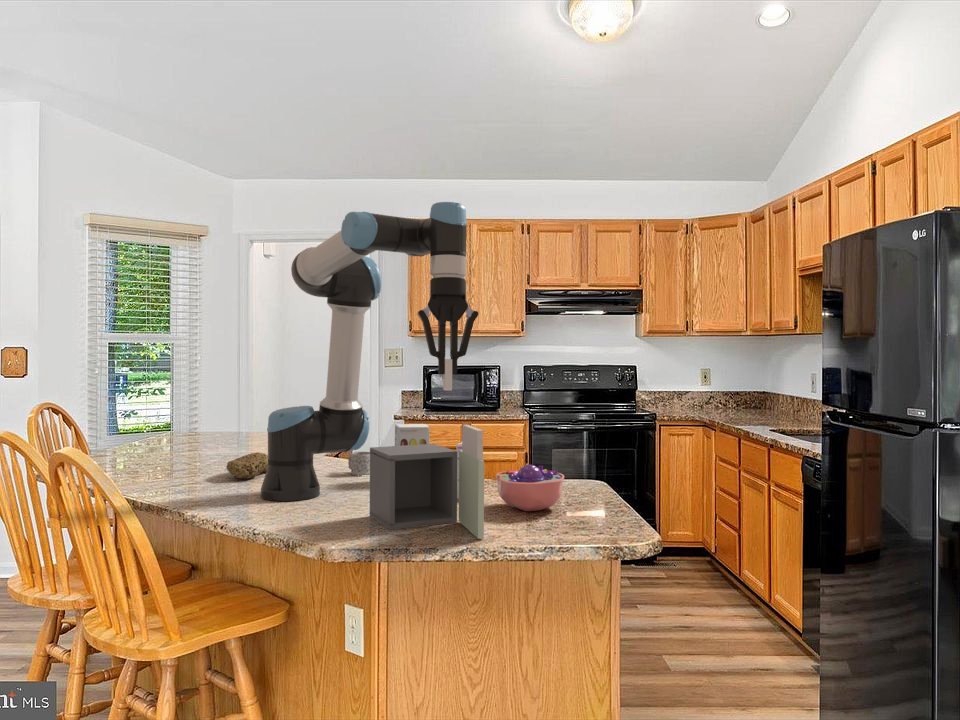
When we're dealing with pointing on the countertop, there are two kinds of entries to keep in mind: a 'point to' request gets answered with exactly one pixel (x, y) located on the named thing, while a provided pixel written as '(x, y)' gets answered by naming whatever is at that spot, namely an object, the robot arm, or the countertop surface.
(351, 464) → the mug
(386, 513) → the box
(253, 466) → the sponge
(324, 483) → the countertop surface
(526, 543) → the countertop surface
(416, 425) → the supplement box
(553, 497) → the cell model
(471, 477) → the side door
